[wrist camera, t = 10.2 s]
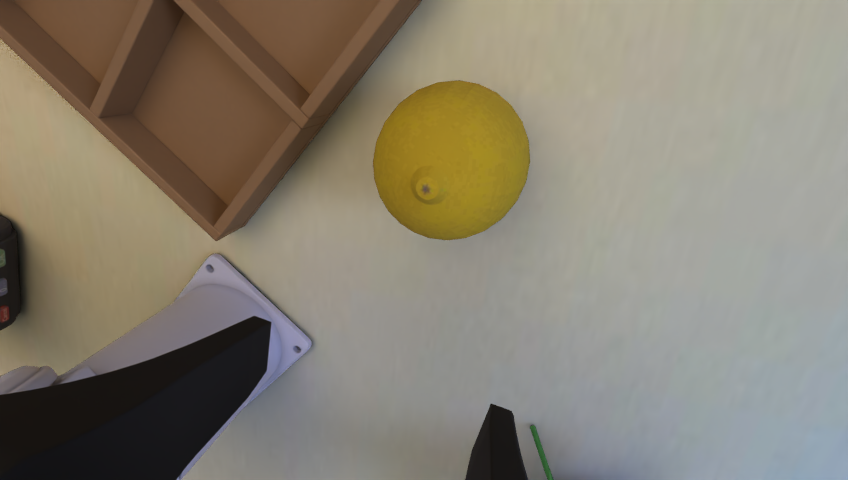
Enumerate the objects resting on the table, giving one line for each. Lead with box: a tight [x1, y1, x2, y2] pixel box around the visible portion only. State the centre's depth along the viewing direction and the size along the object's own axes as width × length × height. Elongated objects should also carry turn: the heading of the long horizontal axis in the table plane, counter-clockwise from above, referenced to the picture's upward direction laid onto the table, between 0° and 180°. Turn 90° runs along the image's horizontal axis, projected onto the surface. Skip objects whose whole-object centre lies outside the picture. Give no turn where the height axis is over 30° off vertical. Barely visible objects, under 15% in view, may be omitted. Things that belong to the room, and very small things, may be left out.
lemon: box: [373, 81, 530, 240], centre depth 16 cm, size 6×6×8 cm
